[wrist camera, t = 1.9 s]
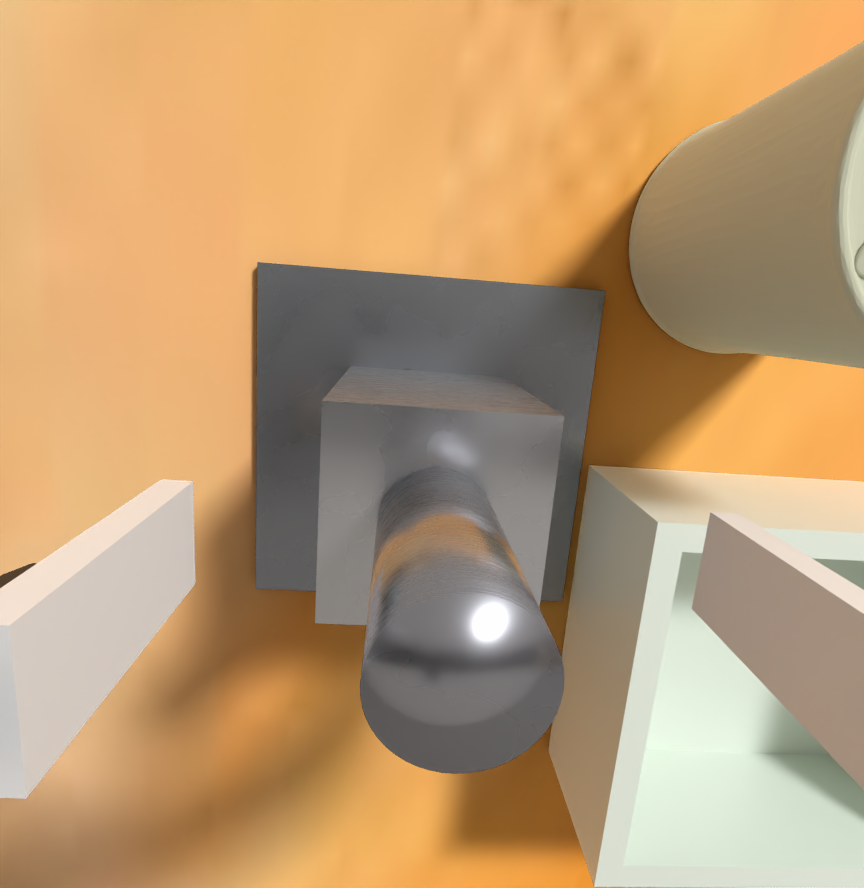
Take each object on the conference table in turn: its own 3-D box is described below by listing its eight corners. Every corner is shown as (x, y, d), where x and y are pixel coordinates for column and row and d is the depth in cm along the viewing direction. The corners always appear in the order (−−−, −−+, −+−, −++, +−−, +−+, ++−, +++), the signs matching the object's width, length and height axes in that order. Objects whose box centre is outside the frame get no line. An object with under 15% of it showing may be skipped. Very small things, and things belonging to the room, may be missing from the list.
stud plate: (257, 584, 26) (197, 702, 18) (260, 263, 23) (187, 239, 15) (559, 597, 27) (624, 714, 19) (602, 291, 24) (700, 282, 16)
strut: (344, 512, 25) (253, 851, 9) (350, 366, 23) (255, 479, 8) (489, 520, 25) (630, 855, 10) (504, 377, 24) (697, 503, 8)
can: (593, 184, 23) (795, 56, 11) (808, 74, 22) (1256, -182, 11) (672, 389, 25) (912, 461, 13) (870, 293, 24) (1300, 280, 13)
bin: (548, 750, 29) (594, 886, 22) (589, 465, 25) (658, 522, 19) (828, 756, 30) (955, 888, 23) (903, 483, 27) (1077, 544, 20)
